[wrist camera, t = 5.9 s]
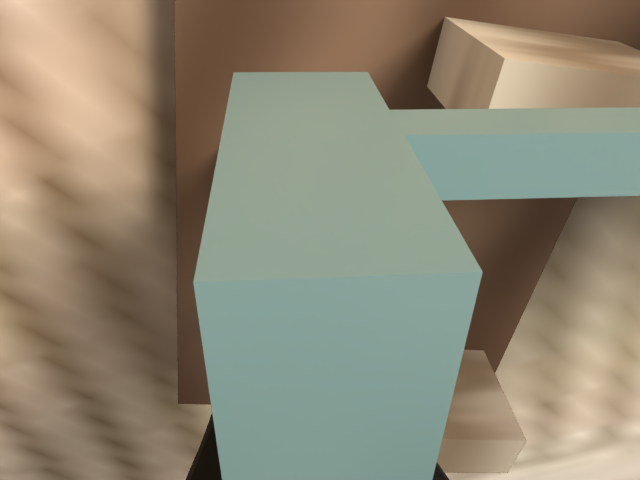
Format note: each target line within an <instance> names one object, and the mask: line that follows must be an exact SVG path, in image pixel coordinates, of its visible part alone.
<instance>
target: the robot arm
mask: <svg viewBox="0 0 640 480" xmlns="http://www.w3.org/2000/svg"><path fill="white" fill-rule="evenodd" d="M186 480H222V476H221V469H220V463H219V456H218V449H217V442H216V435H215V428H214V421H213V414H211V418H210V421H209V423H208V426H207V429H206V432H205V434H204V437H203V440H202V442H201V445H200V447H199V450H198V452H197V454H196V457H195V459H194V461H193V464H192V466H191V468H190V471H189V473H188V475H187V478H186ZM433 480H449V479H448V477H447V476H446V474H445V473H444V472H443V470H442V468H441V467H440V465H439V464H438V462H437V463H436V467H435V471H434V475H433Z"/></svg>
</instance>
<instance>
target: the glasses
mask: <svg viewBox="0 0 640 480" xmlns="http://www.w3.org/2000/svg"><path fill="white" fill-rule="evenodd" d="M607 196H640V107H623V108H518V109H413V110H389V108H388V106H387V105H386V103H385V101H384V99H383V98H382V96H381V94H380V92H379V91H378V89H377V87H376V85H375V84H374V82H373V80H372V78H371V77H370V75H369V73H368V72H233V77H232V83H231V88H230V93H229V98H228V104H227V109H226V114H225V119H224V124H223V130H222V135H221V140H220V145H219V151H218V156H217V161H216V166H215V172H214V177H213V182H212V187H211V193H210V198H209V203H208V208H207V213H206V219H205V224H204V229H203V234H202V240H201V245H200V250H199V255H198V261H197V266H196V271H195V276H194V281H193V284H194V290H195V297H196V304H197V311H198V318H199V325H200V332H201V339H202V345H203V352H204V359H205V366H206V373H207V380H208V387H209V394H210V401H211V407H212V414H213V421H214V428H215V435H216V442H217V449H218V456H219V463H220V469H221V476H222V480H433V475H434V471H435V467H436V463H437V459H438V455H439V451H440V446H441V442H442V438H443V434H444V430H445V426H446V422H447V418H448V413H449V409H450V405H451V401H452V397H453V393H454V389H455V384H456V380H457V376H458V372H459V368H460V364H461V360H462V356H463V351H464V347H465V343H466V339H467V335H468V331H469V327H470V322H471V318H472V314H473V310H474V306H475V302H476V298H477V293H478V289H479V285H480V281H481V277H482V273H483V271H482V270H481V268H480V266H479V265H478V263H477V261H476V259H475V258H474V256H473V254H472V252H471V251H470V249H469V247H468V245H467V244H466V242H465V240H464V238H463V237H462V235H461V233H460V231H459V230H458V228H457V226H456V225H455V223H454V221H453V219H452V218H451V216H450V214H449V212H448V211H447V209H446V207H445V205H444V204H443V202H442V200H484V199H525V198H566V197H607Z"/></svg>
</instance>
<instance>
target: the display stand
mask: <svg viewBox="0 0 640 480" xmlns="http://www.w3.org/2000/svg"><path fill="white" fill-rule="evenodd" d="M174 14H175V116H176V218H177V320H178V404H211V401H210V394H209V387H208V380H207V373H206V366H205V359H204V352H203V345H202V339H201V332H200V325H199V318H198V311H197V304H196V297H195V290H194V284H193V281H194V276H195V271H196V266H197V261H198V255H199V250H200V245H201V240H202V234H203V229H204V224H205V219H206V213H207V208H208V203H209V198H210V193H211V187H212V182H213V177H214V172H215V166H216V161H217V156H218V151H219V145H220V140H221V135H222V130H223V124H224V119H225V114H226V109H227V104H228V98H229V93H230V88H231V83H232V77H233V72H368V73H369V75H370V77H371V78H372V80H373V82H374V84H375V85H376V87H377V89H378V91H379V92H380V94H381V96H382V98H383V99H384V101H385V103H386V105H387V106H388V108H389V110H413V109H518V108H623V107H640V0H174ZM576 199H577V197H566V198H525V199H484V200H442V202H443V204H444V205H445V207H446V209H447V211H448V212H449V214H450V216H451V218H452V219H453V221H454V223H455V225H456V226H457V228H458V230H459V231H460V233H461V235H462V237H463V238H464V240H465V242H466V244H467V245H468V247H469V249H470V251H471V252H472V254H473V256H474V258H475V259H476V261H477V263H478V265H479V266H480V268H481V270H482V271H483V273H482V277H481V281H480V285H479V289H478V293H477V298H476V302H475V306H474V310H473V314H472V318H471V322H470V327H469V331H468V335H467V339H466V343H465V347H464V351H463V356H462V360H461V364H460V368H459V372H458V376H457V380H456V384H455V389H454V393H453V397H452V401H451V405H450V409H449V413H448V418H447V422H446V426H445V430H444V434H443V438H442V442H441V446H440V451H439V455H438V459H437V462H438V464H439V465H440V467H441V468H442V470H443V472H444V473H508V472H509V470H510V468H511V467H512V465H513V463H514V461H515V460H516V458H517V456H518V455H519V453H520V451H521V449H522V448H523V446H524V444H525V442H526V439H525V437H524V434H523V432H522V430H521V428H520V426H519V424H518V422H517V420H516V418H515V415H514V413H513V411H512V409H511V407H510V405H509V403H508V401H507V399H506V396H505V394H504V392H503V390H502V388H501V386H500V384H499V382H498V380H497V378H496V375H495V372H496V370H497V367H498V365H499V363H500V361H501V359H502V357H503V355H504V353H505V350H506V348H507V346H508V344H509V342H510V340H511V338H512V335H513V333H514V331H515V329H516V327H517V325H518V323H519V321H520V318H521V316H522V314H523V312H524V310H525V308H526V306H527V303H528V301H529V299H530V297H531V295H532V293H533V291H534V289H535V286H536V284H537V282H538V280H539V278H540V276H541V274H542V272H543V269H544V267H545V265H546V263H547V261H548V259H549V257H550V254H551V252H552V250H553V248H554V246H555V244H556V242H557V240H558V237H559V235H560V233H561V231H562V229H563V227H564V225H565V222H566V220H567V218H568V216H569V214H570V212H571V210H572V208H573V205H574V203H575V201H576Z"/></svg>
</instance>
